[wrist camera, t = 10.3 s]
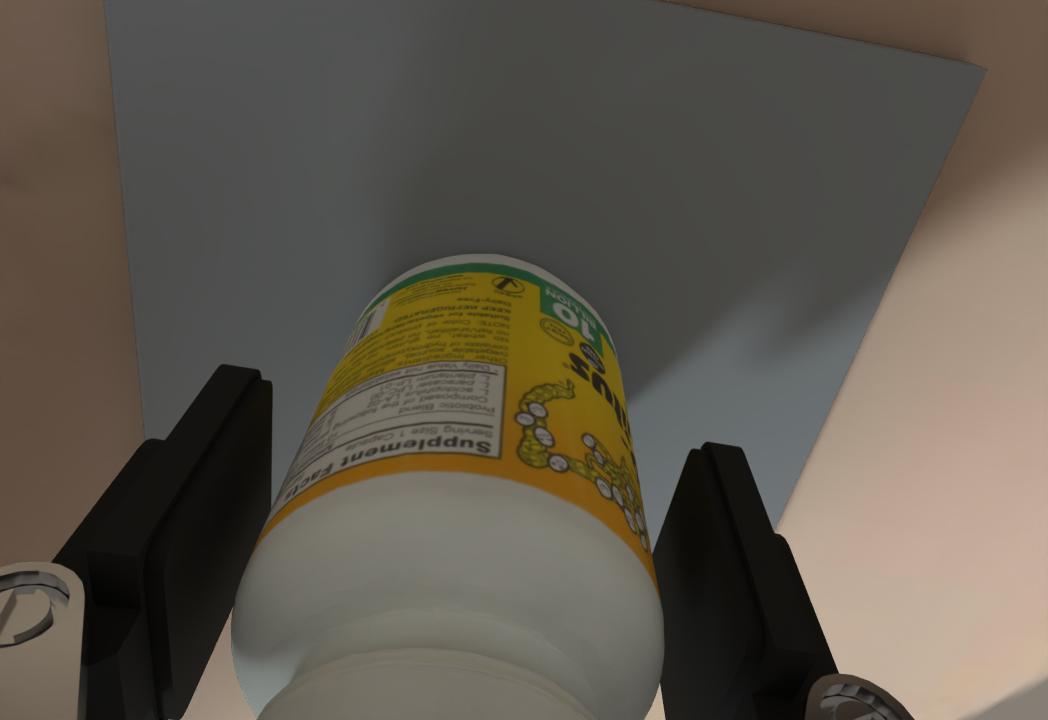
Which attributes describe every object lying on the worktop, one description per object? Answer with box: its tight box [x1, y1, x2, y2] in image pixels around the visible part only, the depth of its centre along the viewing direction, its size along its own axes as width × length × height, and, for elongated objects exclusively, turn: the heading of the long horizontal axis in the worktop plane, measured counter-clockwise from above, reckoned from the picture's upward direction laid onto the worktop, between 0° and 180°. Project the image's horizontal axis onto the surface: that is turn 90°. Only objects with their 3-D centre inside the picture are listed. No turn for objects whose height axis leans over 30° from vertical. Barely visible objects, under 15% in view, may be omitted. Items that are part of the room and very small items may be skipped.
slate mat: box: [104, 0, 987, 553], centre depth 15 cm, size 14×14×1 cm
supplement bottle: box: [231, 254, 665, 720], centre depth 11 cm, size 5×5×10 cm
